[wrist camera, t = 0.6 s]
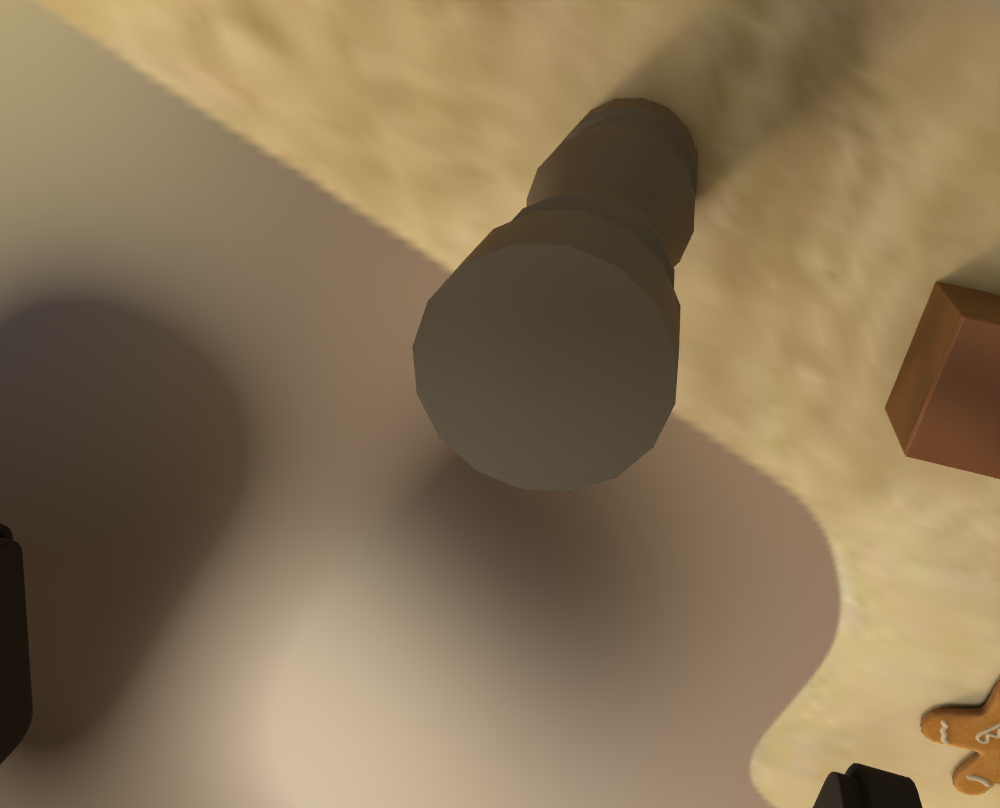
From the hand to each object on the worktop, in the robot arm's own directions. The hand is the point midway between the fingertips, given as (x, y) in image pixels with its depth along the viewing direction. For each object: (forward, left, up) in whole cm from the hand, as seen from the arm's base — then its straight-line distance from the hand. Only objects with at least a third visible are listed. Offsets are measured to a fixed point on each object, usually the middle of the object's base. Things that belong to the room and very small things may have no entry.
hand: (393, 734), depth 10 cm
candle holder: (0, 0, -35) cm, 35 cm away
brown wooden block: (+5, +19, -35) cm, 40 cm away
